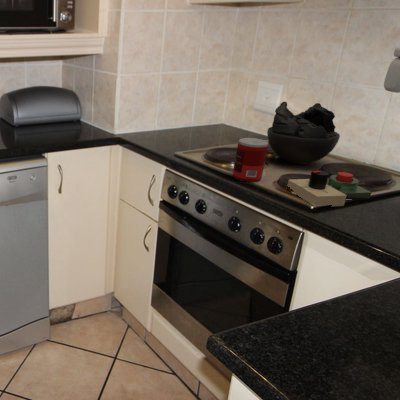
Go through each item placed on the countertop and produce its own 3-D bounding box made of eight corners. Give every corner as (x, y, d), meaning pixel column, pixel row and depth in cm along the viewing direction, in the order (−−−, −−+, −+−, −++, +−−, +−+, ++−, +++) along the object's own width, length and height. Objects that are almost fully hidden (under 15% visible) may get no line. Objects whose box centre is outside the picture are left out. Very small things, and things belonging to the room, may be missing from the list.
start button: (354, 182, 126) (356, 176, 125) (342, 182, 126) (344, 176, 125) (345, 177, 129) (347, 171, 129) (333, 178, 129) (334, 172, 128)
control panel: (344, 206, 120) (347, 194, 119) (314, 207, 119) (317, 195, 118) (313, 188, 131) (316, 177, 130) (285, 189, 130) (288, 178, 129)
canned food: (266, 179, 138) (274, 142, 134) (250, 184, 134) (257, 146, 130) (243, 171, 144) (249, 136, 140) (226, 176, 140) (233, 140, 135)
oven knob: (318, 183, 126) (322, 168, 125) (328, 189, 123) (333, 173, 121) (304, 184, 126) (308, 168, 124) (314, 189, 122) (318, 174, 120)
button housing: (369, 200, 124) (373, 185, 123) (341, 201, 123) (345, 186, 122) (339, 184, 134) (343, 171, 133) (313, 185, 133) (317, 172, 132)
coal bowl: (347, 165, 148) (361, 105, 142) (306, 176, 140) (318, 111, 133) (289, 151, 165) (299, 96, 158) (249, 159, 156) (258, 101, 150)
